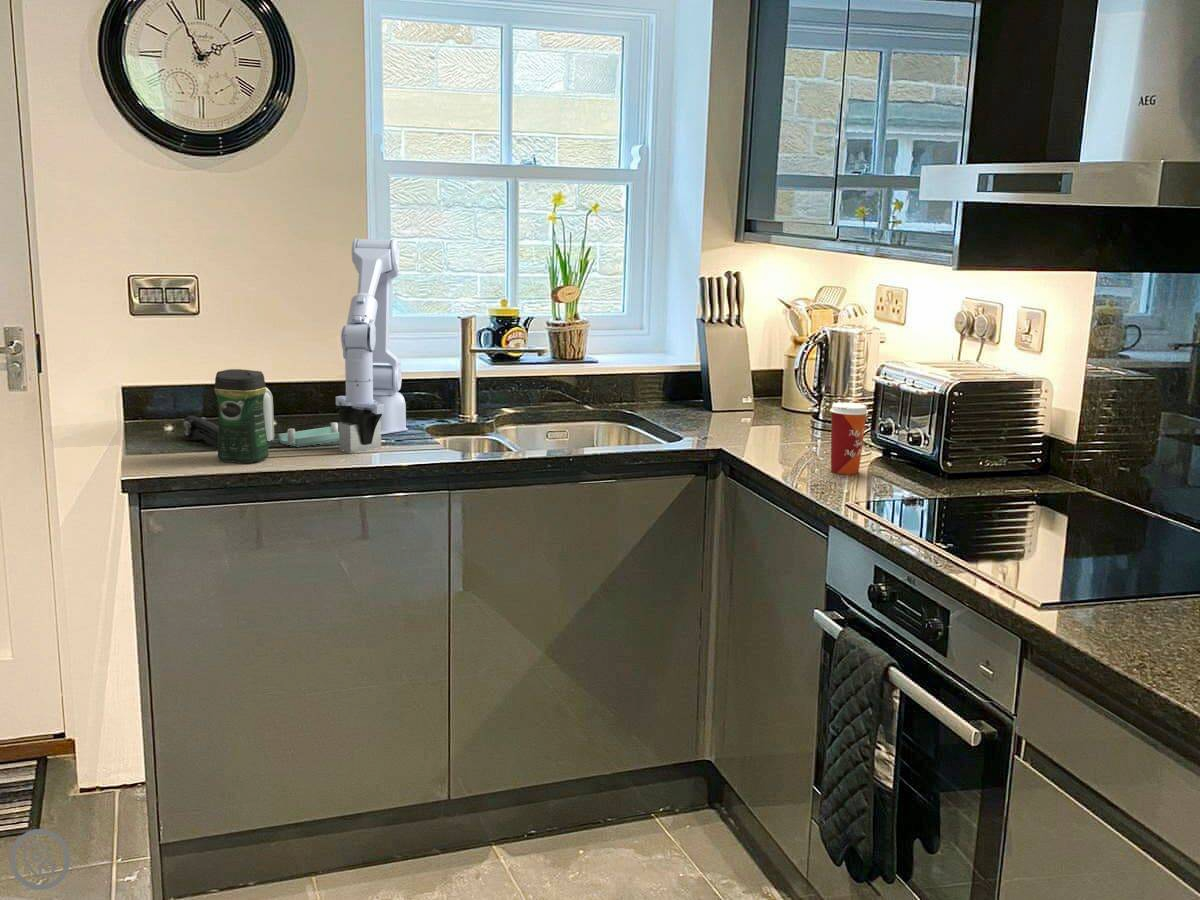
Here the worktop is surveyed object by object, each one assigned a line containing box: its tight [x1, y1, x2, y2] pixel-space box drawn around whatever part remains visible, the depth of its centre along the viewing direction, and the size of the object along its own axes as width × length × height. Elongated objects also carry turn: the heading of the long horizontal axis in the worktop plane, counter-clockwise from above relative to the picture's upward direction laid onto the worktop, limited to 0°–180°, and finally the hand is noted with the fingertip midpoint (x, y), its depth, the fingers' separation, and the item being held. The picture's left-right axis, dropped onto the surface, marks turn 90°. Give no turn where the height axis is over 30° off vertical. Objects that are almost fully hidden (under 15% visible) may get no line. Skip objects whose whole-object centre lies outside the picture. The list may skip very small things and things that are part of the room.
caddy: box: [278, 422, 339, 447], centre depth 256 cm, size 13×7×4 cm, turn 138°
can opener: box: [183, 415, 219, 448], centre depth 252 cm, size 18×7×6 cm, turn 43°
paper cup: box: [829, 402, 869, 476], centre depth 239 cm, size 8×8×14 cm
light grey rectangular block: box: [338, 420, 382, 453], centre depth 249 cm, size 8×4×6 cm, turn 138°
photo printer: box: [263, 387, 275, 442], centre depth 257 cm, size 10×4×12 cm, turn 39°
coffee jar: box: [214, 368, 269, 464], centre depth 235 cm, size 10×8×19 cm
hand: (360, 442), depth 250 cm, fingers closed on light grey rectangular block, 4 cm apart
